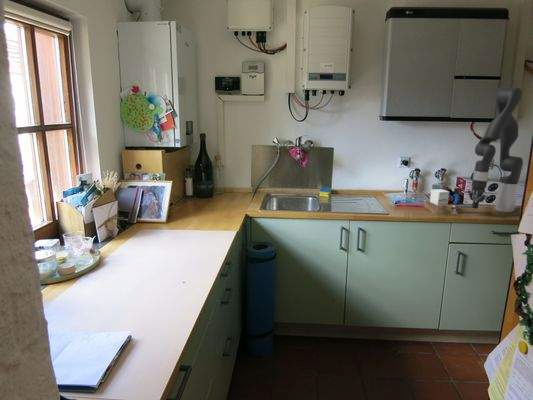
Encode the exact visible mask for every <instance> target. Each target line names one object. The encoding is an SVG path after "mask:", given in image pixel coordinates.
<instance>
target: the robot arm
mask: <svg viewBox="0 0 533 400" xmlns="http://www.w3.org/2000/svg"><path fill="white" fill-rule="evenodd" d="M522 97H523V90H522V89H521V88H520V87H516V86H515V87H513V86H511V87H510V86H507V87H506V86H504V87H503V86H502V87H499V88H498V89H497V92H496V95H495V98H496V99H495V100H496V101H495V102H496V109H497V113H498V115H496V117H495V118H494V119H493V120H491V121H490V123H489V124H488V126H487V129H486V131H485V133H484V135H482V138H481V139H480V140H479V141H478V143H477V144H476V145H475V147H474V152H475V155H476V156H478V157H482V159H480V160H477V161H476V162H475V166H474V171H473V175H472V180H471V189H469V190H467V193H468V195H469V199H470V200H471V201H472V204H473V208H472V209H477V210H478V208H479V204H480V203H483V202H484V201H485V200H486V199H487V198H488V196H489V195H488V194H486V188H487V184H488V180H489V171H490V165H491V164H492V161H493V159H494V157H495V156H496V147H495V145H493V144H491V143H493V142H496V141H498V140H499V146H500V149H499V150H500V152H499V167H500V170H501V171H503V172H510V174H509V175H508V176H501V177H500V180H499V184H498V190H497V196H496V202H495V206H494V207H495V208H494V210H495V211H499V212H501V213H512V212H514V211H515V206H516V201H517V189H518V183H519V180H520V178H521V174H522V169H523V166H524V160H523V158H522V157H521V156H515V155H514V156H512V155H510V149H511V148H512V146H513V144H514V143H515V142H516V141H517V139H518V137H519V124H518V122H517V119H516V118H515V117H514V116H513V112H514V111H515V110H516V108H517V106H518V104H520V102H521V99H522Z"/></svg>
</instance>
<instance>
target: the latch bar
mask: <svg viewBox="0 0 533 400" xmlns="http://www.w3.org/2000/svg"><path fill="white" fill-rule="evenodd" d="M452 205H453V208H456V209H474V208H473V203H472V204H452Z"/></svg>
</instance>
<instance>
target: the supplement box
mask: <svg viewBox="0 0 533 400" xmlns="http://www.w3.org/2000/svg"><path fill="white" fill-rule="evenodd" d="M449 197H450V191H448V190H445V189H442V188H439V189H436V188H435V189H431V190H430V196H429V200H430V202H431V203H434V204H436V205H449Z"/></svg>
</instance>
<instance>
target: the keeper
mask: <svg viewBox="0 0 533 400" xmlns="http://www.w3.org/2000/svg"><path fill="white" fill-rule="evenodd" d="M453 205H454V204H448V205H436V204H434V203H431V202H430V199H425V200H424V209H425V210H428V211H430V213H434V214H436V215H445V214H446V215H448V214H449V215H450V214H451V215H458V212H457V208H453Z"/></svg>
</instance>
